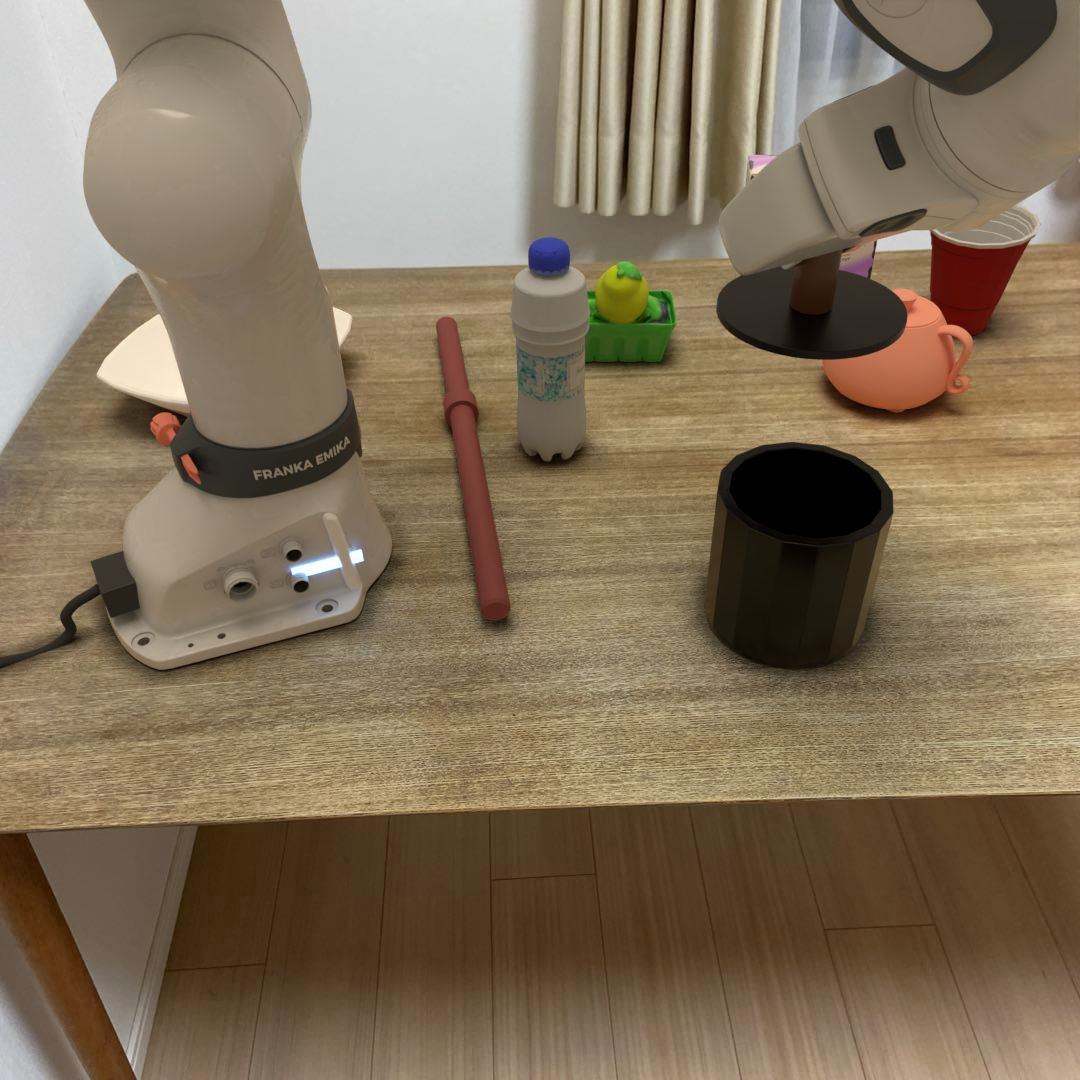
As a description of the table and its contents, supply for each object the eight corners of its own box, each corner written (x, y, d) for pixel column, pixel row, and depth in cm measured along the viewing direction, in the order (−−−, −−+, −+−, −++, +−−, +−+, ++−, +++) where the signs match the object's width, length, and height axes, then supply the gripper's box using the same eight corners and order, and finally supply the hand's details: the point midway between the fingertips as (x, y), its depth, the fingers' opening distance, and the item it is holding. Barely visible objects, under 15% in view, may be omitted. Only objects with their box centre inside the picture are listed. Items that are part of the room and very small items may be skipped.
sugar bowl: (852, 345, 107) (871, 253, 101) (984, 388, 100) (1013, 292, 94) (796, 394, 100) (812, 299, 93) (933, 444, 93) (961, 344, 86)
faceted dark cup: (775, 693, 70) (799, 568, 63) (673, 596, 78) (684, 475, 71) (896, 629, 75) (931, 505, 68) (788, 544, 83) (809, 425, 75)
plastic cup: (882, 314, 112) (904, 208, 105) (958, 293, 116) (985, 189, 108) (951, 358, 105) (981, 247, 97) (1031, 334, 108) (1065, 226, 100)
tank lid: (803, 388, 62) (826, 244, 56) (678, 310, 70) (687, 177, 64) (944, 333, 67) (980, 195, 61) (812, 266, 75) (832, 139, 69)
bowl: (82, 428, 98) (64, 381, 95) (207, 325, 114) (196, 281, 110) (280, 467, 92) (268, 418, 89) (383, 353, 108) (377, 308, 105)
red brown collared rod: (432, 339, 110) (430, 313, 108) (461, 336, 110) (459, 310, 108) (476, 629, 76) (473, 598, 74) (517, 624, 76) (516, 593, 74)
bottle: (581, 472, 91) (583, 260, 78) (508, 464, 92) (498, 254, 79) (593, 430, 96) (597, 225, 83) (524, 424, 97) (517, 220, 84)
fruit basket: (668, 332, 110) (675, 232, 103) (675, 374, 103) (683, 270, 96) (563, 333, 111) (563, 233, 103) (563, 375, 104) (562, 271, 97)
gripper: (1080, 53, 57) (917, 174, 70) (785, 115, 50) (664, 237, 63) (1121, 158, 56) (950, 259, 69) (830, 235, 49) (700, 332, 62)
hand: (812, 249), depth 66 cm, fingers closed on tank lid, 3 cm apart
